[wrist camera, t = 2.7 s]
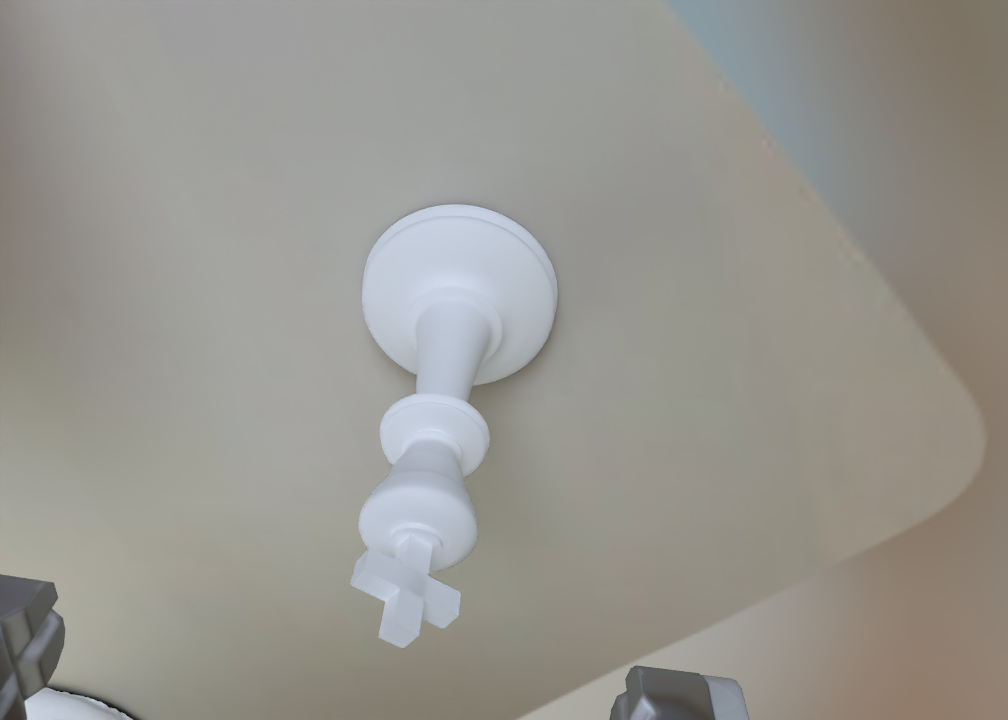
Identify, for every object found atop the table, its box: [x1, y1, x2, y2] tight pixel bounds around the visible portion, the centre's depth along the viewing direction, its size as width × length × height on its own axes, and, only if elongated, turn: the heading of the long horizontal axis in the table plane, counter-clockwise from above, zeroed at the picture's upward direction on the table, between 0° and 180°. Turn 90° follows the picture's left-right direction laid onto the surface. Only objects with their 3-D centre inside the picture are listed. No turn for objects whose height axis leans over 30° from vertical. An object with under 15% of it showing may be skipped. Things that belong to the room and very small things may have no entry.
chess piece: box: [350, 204, 558, 649], centre depth 15 cm, size 5×5×10 cm
